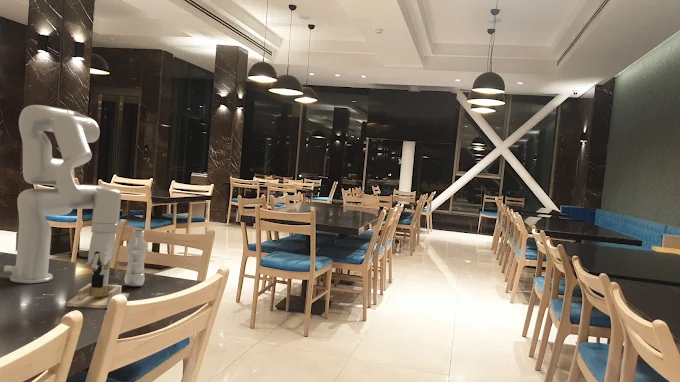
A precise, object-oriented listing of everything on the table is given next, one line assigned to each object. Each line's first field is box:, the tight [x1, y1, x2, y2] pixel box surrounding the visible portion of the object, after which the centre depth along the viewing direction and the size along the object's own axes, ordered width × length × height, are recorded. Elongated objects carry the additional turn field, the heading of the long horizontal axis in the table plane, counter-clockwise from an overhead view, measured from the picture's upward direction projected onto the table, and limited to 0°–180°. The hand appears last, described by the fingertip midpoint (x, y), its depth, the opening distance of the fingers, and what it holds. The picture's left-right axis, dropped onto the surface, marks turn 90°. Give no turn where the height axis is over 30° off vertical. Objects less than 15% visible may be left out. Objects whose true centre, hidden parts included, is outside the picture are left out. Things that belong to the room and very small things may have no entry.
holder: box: [65, 283, 130, 309], centre depth 150 cm, size 14×14×4 cm
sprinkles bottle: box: [91, 256, 111, 297], centre depth 150 cm, size 5×5×14 cm
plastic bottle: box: [124, 229, 148, 288], centre depth 170 cm, size 6×7×20 cm
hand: (100, 284), depth 150 cm, fingers closed on sprinkles bottle, 4 cm apart
